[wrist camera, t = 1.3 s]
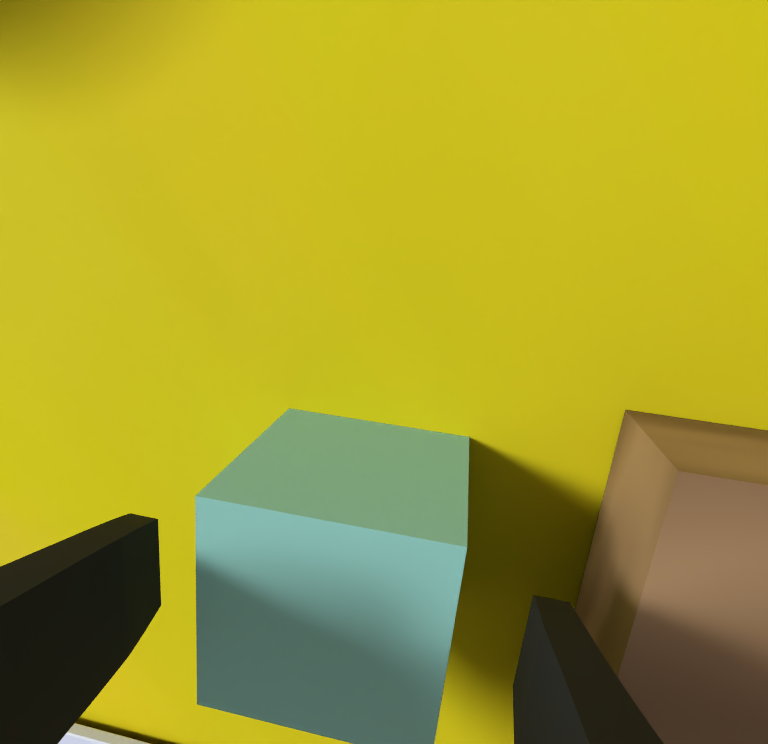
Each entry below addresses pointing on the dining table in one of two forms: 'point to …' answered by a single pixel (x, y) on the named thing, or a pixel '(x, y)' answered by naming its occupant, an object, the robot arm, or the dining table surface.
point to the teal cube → (333, 577)
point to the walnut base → (685, 577)
